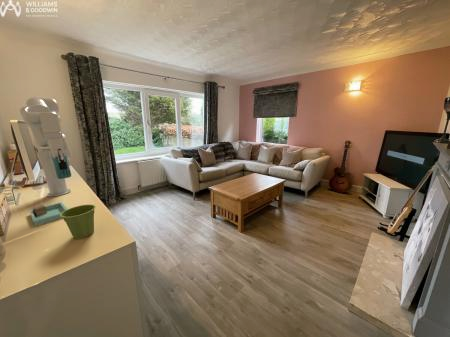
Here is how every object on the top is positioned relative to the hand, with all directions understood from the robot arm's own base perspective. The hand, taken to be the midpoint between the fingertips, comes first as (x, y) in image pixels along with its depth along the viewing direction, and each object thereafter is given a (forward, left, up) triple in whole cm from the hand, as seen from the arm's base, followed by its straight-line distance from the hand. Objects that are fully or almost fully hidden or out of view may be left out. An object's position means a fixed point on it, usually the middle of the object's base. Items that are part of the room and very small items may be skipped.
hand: (62, 168), depth 105 cm
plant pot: (+42, -4, -23) cm, 48 cm away
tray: (+6, -10, -23) cm, 26 cm away
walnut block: (0, -13, -22) cm, 26 cm away
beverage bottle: (0, 0, -7) cm, 7 cm away
